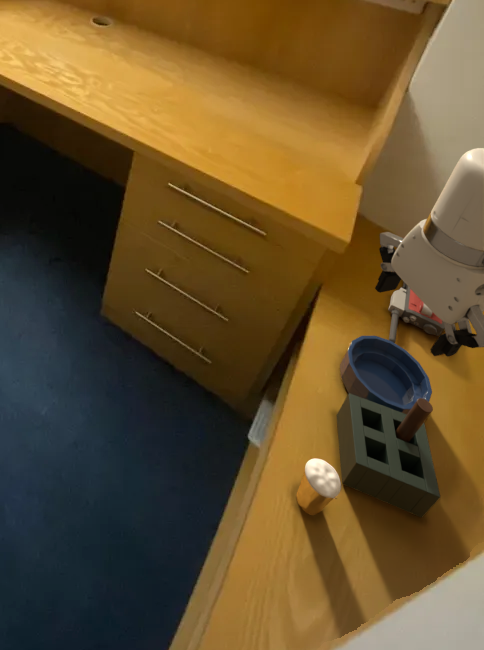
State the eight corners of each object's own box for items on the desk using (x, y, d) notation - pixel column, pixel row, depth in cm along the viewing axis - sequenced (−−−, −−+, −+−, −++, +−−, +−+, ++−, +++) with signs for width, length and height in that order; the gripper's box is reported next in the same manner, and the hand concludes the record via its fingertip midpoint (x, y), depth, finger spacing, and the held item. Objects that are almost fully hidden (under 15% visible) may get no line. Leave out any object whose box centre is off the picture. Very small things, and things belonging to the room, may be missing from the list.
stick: (395, 450, 81) (431, 401, 74) (397, 463, 80) (434, 414, 73) (381, 444, 82) (416, 395, 75) (383, 457, 81) (418, 408, 73)
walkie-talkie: (393, 270, 110) (382, 343, 97) (400, 256, 108) (390, 329, 94) (442, 291, 106) (438, 371, 92) (450, 278, 104) (448, 357, 90)
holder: (407, 442, 82) (424, 420, 79) (421, 518, 74) (440, 497, 71) (336, 414, 86) (348, 392, 82) (342, 484, 78) (356, 462, 74)
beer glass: (298, 525, 73) (317, 495, 68) (287, 480, 78) (304, 449, 73) (331, 531, 73) (352, 501, 68) (318, 485, 78) (337, 454, 73)
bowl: (411, 368, 92) (422, 351, 90) (426, 439, 83) (439, 422, 80) (336, 342, 97) (345, 325, 94) (342, 407, 87) (352, 390, 84)
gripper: (558, 292, 57) (490, 375, 66) (427, 184, 72) (386, 264, 81) (503, 304, 56) (442, 387, 65) (382, 192, 71) (345, 272, 79)
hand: (411, 318), depth 73 cm, fingers open, 9 cm apart
